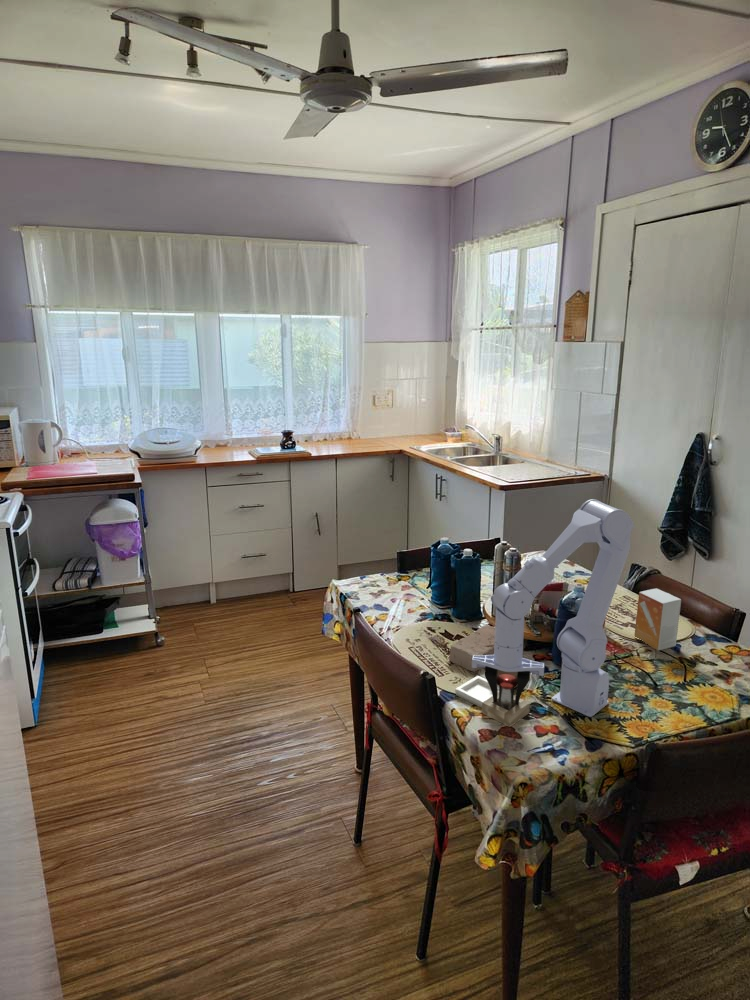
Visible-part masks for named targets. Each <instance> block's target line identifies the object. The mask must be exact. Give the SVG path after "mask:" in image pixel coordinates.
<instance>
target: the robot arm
mask: <svg viewBox="0 0 750 1000" xmlns="http://www.w3.org/2000/svg"><path fill="white" fill-rule="evenodd" d="M634 526H635V523H634V522H633V520H632V518H631V517H630V515H629V513H627V511H625V510H623V509H621V508H619V509H618V508H616V507H614V506H611V505H609V504H606V503H603V502H602V501H600V500H598V499H595V498H592V499H588V500H585V502H583V503H582V504H581V506H580V508H578V509H577V510H576V511H575V512H574V513H573V516H572V518H571V521H570V522H569V524H568V525H567V526H566V528H565V529H564V530H563V531H562V533H561V534H560V535H558V537H557V538H556V539H555V540H554V541H553V543H552V544H551V545H550V546H549V548H548V549H546V551H545V552H544V553H543V554H542V555H541V556H536V557H532V558H531V559H530V560H529V559H528V560H526V561H525V562H524V563H523V567H522V568H520V570H518V572H517V573H516V574H515V575H514V576H513V577H512V578H510V579H509V580H508V581H507V582H504V583H503V584H500V585H498V586H497V587H496V588H495V589H494V591H493V595H490V601H491V603H492V605H493V606H494V608H495V622H494V623H495V624H494V627H495V645H494V655H481V656H478V655H473V658H472V668H477V667H482V668H484V677H485V678H484V679H486V680H487V681H488V683H489V685H490V688H491V691H492V695H493V702H497V695H498V689H497V676H498V670H501V671H505V672H518V674H517V685H516V691H515V696H516V697H515V705H518V704H519V699H520V698H521V696H522V694H523V692H524V690H525V688H526V686H527V685H528V684H529V681H530V678H531V674H536V675H538V676H540V677H544V676H545V662H539V661H535V660H531V659H528V658H523V655H524V653H523V651H524V633H525V631H524V630H525V616H526V615H528V614H530V611H531V608H532V605H533V602H534V601H535V598H536V597H537V595H538V594H539V593H540V592H541V591H542V590H544V588H545V587H547V585H549V583H550V582H551V581H552V580H553V579H554V578H555V569H556V568H557V567H558V566H559V565H561V563H563V562H564V561H565V560H566V559H567V558H569V556H571V555H572V554H573V553H574V552H575V551H576V550H577V549H578V548H579V547H581V546H582V545H583V544H584V543H585V544H586V543H588V544H589V543H597V544H598V546H599V552H598V555H597V557H596V560H595V563H594V566H593V569H592V572H591V574H590V577H589V579H588V582H587V585H586V588H585V592H584V594H583V598H582V600H581V603H580V605H579V608H578V611H577V614H576V616H575V617H572V618H570V619H568V620H567V621H566V624H565V626H564V627H563V628H562V630H561V631H560V632H559V633H558V635H557V638H556V645H557V648H558V650H560V652H561V655H560V657H561V672H560V673H561V675H560V688H559V692H557V693H556V694H554V695H553V696H552V697H551V701H554V702H555V703H558V704H560V705H562V706H564V707H566V708H568V709H572V710H573V711H576V712H578V713H580V714H583V715H584V716H587V717H588V718H592V717H593V716H595V714H597V713H598V712H599V711H601V710H602V709H603V708H605V706H607V705H608V704H609V703H610V700H608V696H609V686H610V675H609V672H606V671H604V670H603V669H602V668H601V666H603V664H604V662H605V661H606V656H607V655H606V647H607V643H608V638H607V635H606V632H605V630H604V627H603V626H604V623H605V620H606V618H607V615H608V612H609V609H610V606H611V604H612V601H613V599H614V596H615V595H614V594H615V592H616V590H617V587H618V584H619V581H620V579H621V575H622V574H623V573H622V572H623V570H624V568H625V565H626V562H627V558H628V556H629V553H630V550H631V546H632V545H631V534H632V531H633V529H634Z"/></svg>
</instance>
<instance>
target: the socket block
mask: <svg viewBox="0 0 750 1000" xmlns="http://www.w3.org/2000/svg"><path fill="white" fill-rule="evenodd" d="M515 697H516V695H514V699H513V708H512V709H510V710H509V711H508V710H506V709H504V708H502V707H500V706H499V692H498V695H497V702H493V696H492V697H490V698H489V699H487V700H486V701H484V702H482V708H481V714H482V715H485V716H487V717H489V718H491V719H493V720H495V721H497V722H499V723H501V724H503V725H505V726H507V727H508V728H511V727H512V726H513V725H515V724H516V723H517V722H519V721H520V720H521V719H524V718H525V717H526V716H527V715H529V714H530V707H531V706H530V703H531V702H529V701H527V700H525V699H523V698H521V697H520V699H519V704H518V705H515Z"/></svg>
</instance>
